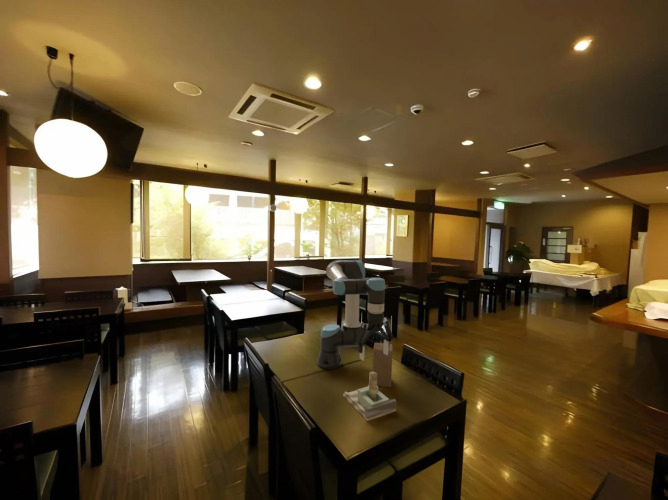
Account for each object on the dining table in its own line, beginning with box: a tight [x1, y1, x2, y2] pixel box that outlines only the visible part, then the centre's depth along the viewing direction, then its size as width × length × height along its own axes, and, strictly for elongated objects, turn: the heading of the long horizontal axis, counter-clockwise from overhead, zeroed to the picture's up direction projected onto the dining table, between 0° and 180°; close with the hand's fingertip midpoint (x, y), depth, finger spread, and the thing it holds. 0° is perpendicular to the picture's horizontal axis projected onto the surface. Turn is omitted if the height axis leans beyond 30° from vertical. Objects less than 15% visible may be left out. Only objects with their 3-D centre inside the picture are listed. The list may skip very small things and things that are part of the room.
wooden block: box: [372, 342, 393, 388], centre depth 154 cm, size 10×10×20 cm
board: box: [342, 384, 397, 422], centre depth 134 cm, size 21×16×5 cm
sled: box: [357, 385, 390, 409], centre depth 131 cm, size 11×10×6 cm
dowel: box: [368, 371, 377, 402], centre depth 131 cm, size 4×4×14 cm
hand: (374, 356), depth 130 cm, fingers open, 13 cm apart
